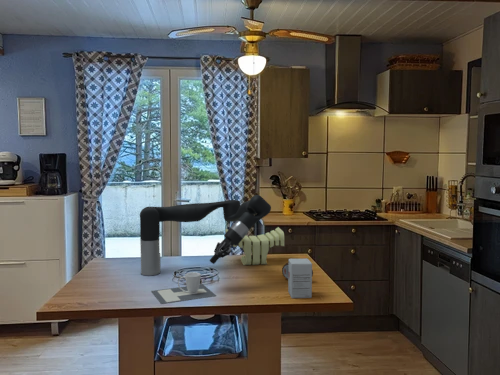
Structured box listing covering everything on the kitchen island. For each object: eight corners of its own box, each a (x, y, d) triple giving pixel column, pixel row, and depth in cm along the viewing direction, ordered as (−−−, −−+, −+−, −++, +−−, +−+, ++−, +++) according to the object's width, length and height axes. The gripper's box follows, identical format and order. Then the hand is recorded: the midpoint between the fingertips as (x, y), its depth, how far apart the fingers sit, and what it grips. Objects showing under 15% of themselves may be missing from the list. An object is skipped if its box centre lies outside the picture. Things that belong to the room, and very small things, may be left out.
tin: (313, 281, 220) (313, 264, 219) (311, 283, 217) (311, 265, 216) (283, 277, 226) (283, 260, 225) (281, 279, 223) (281, 262, 222)
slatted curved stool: (228, 267, 244) (228, 233, 242) (225, 259, 260) (225, 228, 258) (284, 265, 248) (284, 232, 247) (278, 258, 264) (278, 227, 262)
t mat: (202, 284, 214) (202, 284, 214) (216, 296, 198) (216, 295, 198) (150, 291, 204) (150, 290, 204) (161, 304, 188) (161, 303, 188)
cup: (200, 295, 199) (200, 276, 198) (177, 295, 198) (177, 276, 198) (201, 289, 206) (201, 272, 205) (178, 290, 205) (178, 272, 205)
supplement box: (287, 291, 204) (288, 258, 203) (307, 291, 205) (308, 258, 204) (291, 298, 195) (291, 263, 194) (312, 298, 196) (312, 263, 195)
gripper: (248, 241, 205) (222, 271, 201) (236, 235, 217) (211, 264, 213) (237, 230, 202) (210, 260, 198) (225, 225, 214) (200, 253, 210)
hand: (211, 262), depth 205 cm, fingers closed
